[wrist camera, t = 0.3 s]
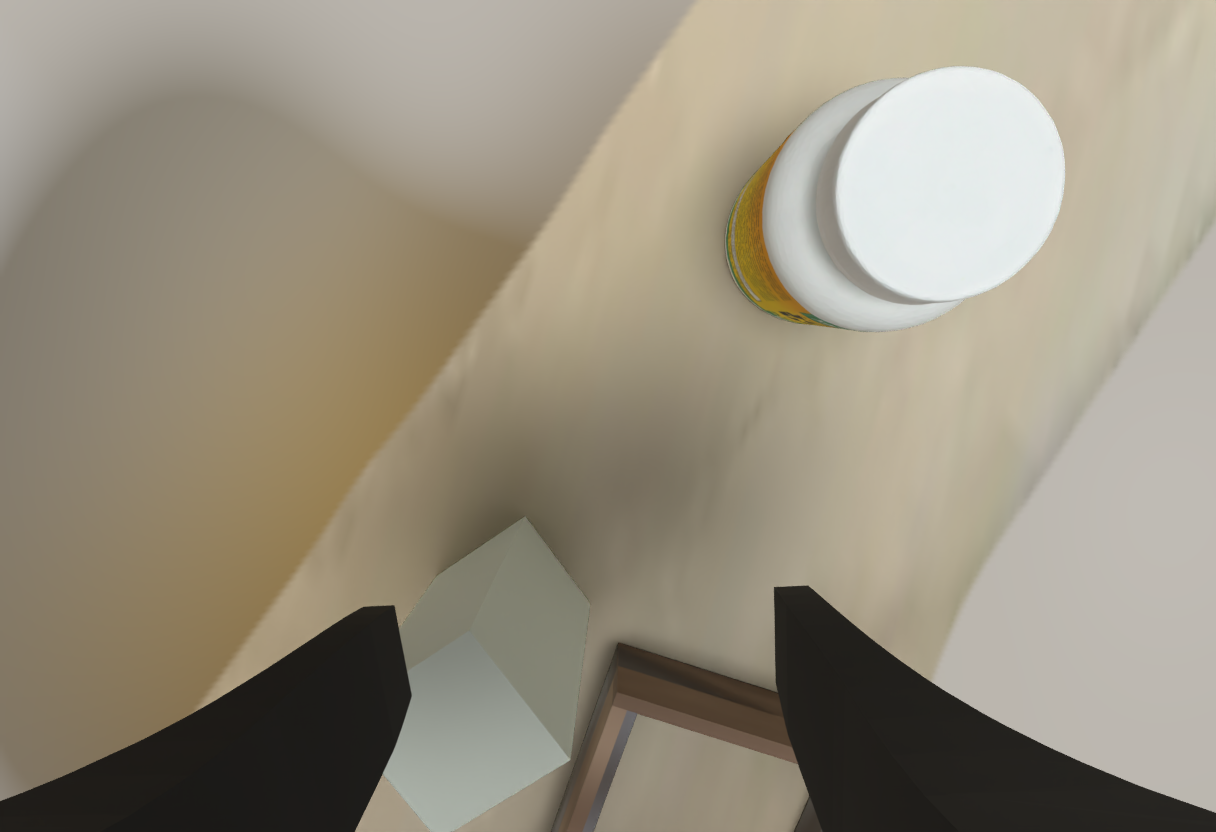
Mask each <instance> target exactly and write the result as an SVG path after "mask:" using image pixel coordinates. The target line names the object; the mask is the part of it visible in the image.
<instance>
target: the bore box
mask: <svg viewBox="0 0 1216 832" xmlns="http://www.w3.org/2000/svg"><path fill="white" fill-rule="evenodd" d="M637 714H640V715H644V716H647V717H650V718H653V719H656V720H660V721H663V722H666V723H669V724H672V725H675V726H679V727H682V728H685V729H688V730H691V731H695V732H698V733H701V734H704V735H707V736H710V737H714V738H717V739H720V740H723V741H726V742H730V743H733V744H736V745H739V746H742V747H745V748H749V749H752V750H755V751H758V752H761V753H765V754H768V755H771V756H774V757H777V758H780V759H784V760H787V761H790V762H793V763H796V764H798V762H797V759H796V757H795V754H794V751H793V748H792V745H791V742H790V739H789V737H788V733H787V729H786V725H785V721H784V717H783V712H782V708H781V703H780V699H779V695H778V693H776V692H773V691H770V690H766V689H763V688H760V687H757V686H754V685H751V684H748V683H744V682H741V681H738V680H735V679H732V678H729V677H725V676H722V675H719V674H716V673H713V672H710V671H707V670H703V669H700V668H697V667H694V666H691V665H688V664H684V663H681V662H678V661H675V660H672V659H669V658H665V657H662V656H659V655H656V654H653V653H650V652H647V651H643V650H640V649H637V648H634V647H631V646H628V645H624V644H621V643H618V645H617V648H616V651H615V654H614V657H613V659H612V662H611V665H610V668H609V671H608V673H607V676H606V679H605V682H604V685H603V687H602V690H601V693H600V696H599V699H598V701H597V704H596V707H595V710H594V712H593V715H592V718H591V721H590V724H589V726H588V729H587V732H586V735H585V738H584V740H583V743H582V746H581V749H580V752H579V754H578V757H577V760H576V763H575V766H574V768H573V771H572V774H571V777H570V780H569V782H568V785H567V788H566V791H565V794H564V796H563V799H562V802H561V805H560V808H559V810H558V813H557V816H556V819H555V822H554V824H553V827H552V830H551V832H593V831H594V829H595V826H596V823H597V821H598V818H599V815H600V813H601V810H602V807H603V805H604V802H605V799H606V797H607V794H608V791H609V788H610V786H611V783H612V780H613V778H614V775H615V772H616V770H617V767H618V764H619V762H620V759H621V756H622V754H623V751H624V748H625V745H626V743H627V740H628V737H629V735H630V732H631V729H632V727H633V724H634V721H635V719H636V716H637ZM795 832H822V829H821V826H820V823H819V821H818V818H817V815H816V812H815V809H814V807H813V804H812V801H811V798H809V800H808V802H807V805H806V807H805V809H804V811H803V814H802V816H801V818H800V821H799V823H798V825H797V827H796V830H795Z"/></svg>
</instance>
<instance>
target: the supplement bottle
mask: <svg viewBox="0 0 1216 832" xmlns="http://www.w3.org/2000/svg"><path fill="white" fill-rule="evenodd" d="M1064 184H1065V160H1064V152H1063V146H1062V143H1061V140H1060V137H1059V134H1058V131H1057V129H1056V126H1055V123H1054V121H1053V120H1052V118H1051V117H1050V115H1049V114H1048V112H1047V110H1046V109H1045V108H1044V106H1043V105H1042V104H1041V102H1040V101H1039V100H1038V99H1037V98H1036V96H1034V95H1033V94H1032V93H1031V92H1030V91H1029V90H1028V89H1027V88H1025V87H1024V86H1023V85H1022V84H1020V83H1018V82H1017V81H1015V80H1013V79H1011V78H1009V77H1007V76H1005V75H1003V74H1001V73H998V72H995V71H992V70H988V69H983V68H978V67H969V66H951V67H943V68H938V69H934V70H930V71H926V72H923V73H920V74H917V75H915V76H913V77H910V78H891V79H882V80H877V81H872V82H869V83H865V84H862V85H859V86H856V87H854V88H852V89H849V90H847V91H845V92H843V93H841V94H839V95H837V96H835V97H834V98H832V99H831V100H829V101H827V102H826V103H824V104H823V105H822V106H820V107H819V108H818V109H817V110H815V111H814V112H813V113H812V114H810V115H809V116H808V117H807V118H806V119H805V120H804V121H803V122H802V123H801V124H800V125H799V126H798V127H797V128H796V129H795V130H794V131H793V132H792V133H791V134H790V135H789V136H788V137H787V138H786V140H785V141H784V142H783V144H782V145H781V146H780V147H779V148H778V149H777V150H776V151H775V152H774V153H773V155H772V156H771V157H770V158H769V159H768V160H767V161H766V162H765V163H764V164H763V165H762V166H761V167H760V168H759V169H758V170H757V172H756V173H755V174H754V175H753V176H752V177H751V178H750V180H749V181H748V182H747V184H746V185H745V186H744V187H743V189H742V190H741V192H740V193H739V195H738V197H737V199H736V201H735V202H734V205H733V207H732V210H731V212H730V215H729V218H728V222H727V226H726V233H725V250H726V258H727V262H728V266H729V269H730V273H731V275H732V277H733V279H734V281H735V283H736V285H737V286H738V288H739V289H740V290H741V292H742V293H743V294H744V295H745V296H746V297H747V298H748V299H749V300H750V301H751V302H752V303H753V304H754V305H756V306H757V307H758V308H760V309H761V310H763V311H764V312H766V313H768V314H770V315H772V316H774V317H776V318H779V319H781V320H785V321H789V322H793V323H800V324H809V325H818V326H826V327H833V328H840V329H847V330H854V331H863V332H886V331H896V330H902V329H907V328H911V327H914V326H918V325H921V324H924V323H926V322H929V321H931V320H933V319H936V318H937V317H939V316H941V315H943V314H945V313H947V312H948V311H950V310H951V309H953V308H954V307H956V306H957V305H959V304H960V303H961V302H962V301H964V300H965V299H967V298H970V297H973V296H976V295H979V294H981V293H984V292H986V291H989V290H991V289H993V288H996V287H997V286H999V285H1000V284H1002V283H1003V282H1005V281H1006V280H1008V279H1009V278H1011V277H1012V276H1013V275H1015V274H1016V273H1017V272H1018V271H1019V270H1020V269H1022V268H1023V267H1024V266H1025V265H1026V264H1027V263H1028V262H1029V261H1030V260H1031V259H1032V257H1033V256H1034V255H1035V254H1036V253H1037V252H1038V250H1039V249H1040V248H1041V247H1042V245H1043V244H1044V242H1045V240H1046V239H1047V237H1048V235H1049V234H1050V232H1051V230H1052V228H1053V226H1054V223H1055V221H1056V219H1057V216H1058V213H1059V211H1060V206H1061V202H1062V198H1063V193H1064Z"/></svg>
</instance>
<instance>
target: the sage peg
mask: <svg viewBox="0 0 1216 832" xmlns="http://www.w3.org/2000/svg"><path fill="white" fill-rule="evenodd" d="M589 611H590V602H589V601H588V600H587V598H586V597H585V596H584V594H583V593H582V592H581V590H580V589H579V588H578V586H577V585H576V584H575V582H574V581H573V580H572V578H571V577H570V576H569V574H568V573H567V571H566V570H565V569H564V567H563V566H562V565H561V563H560V562H559V561H558V559H557V558H556V557H555V555H554V554H553V553H552V551H551V550H550V549H549V547H548V546H547V545H546V543H545V542H544V541H543V539H542V538H541V537H540V535H539V534H538V533H537V531H536V530H535V529H534V527H533V526H532V524H531V523H530V522H529V520H528V519H527V518H526V516H525V517H523V518H522V519H520V520H519V521H517V522H516V523H514V524H513V525H511V526H510V527H508V528H507V529H505V530H504V531H502V532H501V533H499V534H498V535H496V536H495V537H493V538H492V539H490V540H489V541H487V542H486V543H485V544H483V545H482V546H480V547H479V548H477V549H476V550H474V551H473V552H471V553H470V554H468V555H467V556H465V557H464V558H462V559H461V560H459V561H458V562H456V563H455V564H453V565H452V566H450V567H449V568H447V569H446V570H444V571H443V572H441V573H440V574H438V575H437V576H436V577H435V579H434V580H433V581H432V583H431V584H430V586H429V587H428V588H427V590H426V591H425V593H424V594H423V595H422V597H421V598H420V600H419V601H418V603H417V604H416V605H415V607H414V608H413V610H412V611H411V612H410V614H409V615H408V617H407V618H406V619H405V621H404V622H403V624H402V625H401V627H400V628H399V632H400V637H401V642H402V647H403V652H404V657H405V663H406V668H407V673H408V678H409V683H410V688H411V693H412V697H411V701H410V704H409V707H408V710H407V713H406V717H405V720H404V723H403V726H402V729H401V732H400V735H399V737H398V740H397V743H396V746H395V748H394V751H393V753H392V755H391V757H390V759H389V761H388V764H387V766H386V768H385V770H384V772H383V775H384V776H385V777H386V779H387V780H388V781H389V782H390V783H391V785H392V786H393V787H394V788H395V789H396V791H397V792H398V793H399V794H400V795H401V797H402V798H403V799H404V800H405V801H406V803H407V804H408V805H409V806H410V807H411V809H412V810H413V811H414V812H415V813H416V815H417V816H418V817H419V818H420V819H421V821H422V822H423V823H424V824H425V825H426V827H427V828H428V829H429V830H430V831H431V832H453V831H454V830H456V829H458V828H459V827H461V826H463V825H464V824H466V823H468V822H469V821H471V820H473V819H474V818H476V817H477V816H479V815H481V814H482V813H484V812H486V811H487V810H489V809H491V808H492V807H494V806H496V805H497V804H499V803H501V802H502V801H504V800H506V799H507V798H509V797H510V796H512V795H514V794H515V793H517V792H519V791H520V790H522V789H524V788H525V787H527V786H529V785H530V784H532V783H534V782H535V781H537V780H539V779H540V778H542V777H543V776H545V775H547V774H548V773H550V772H552V771H553V770H555V769H557V768H558V767H560V766H562V765H563V764H565V763H567V762H568V761H570V760H571V752H572V744H573V736H574V729H575V721H576V713H577V705H578V697H579V689H580V682H581V674H582V666H583V658H584V650H585V643H586V635H587V627H588V619H589Z"/></svg>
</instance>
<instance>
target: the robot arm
mask: <svg viewBox="0 0 1216 832" xmlns="http://www.w3.org/2000/svg"><path fill="white" fill-rule="evenodd" d="M774 608H775V666H776V686H777V690H778V695H779V699H780V703H781V708H782V712H783V717H784V721H785V725H786V729H787V733H788V737H789V739H790V742H791V745H792V748H793V751H794V754H795V757H796V759H797V762H798V765H799V768H800V771H801V773H802V776H803V779H804V782H805V785H806V787H807V790H808V793H809V796H810V798H811V801H812V804H813V807H814V809H815V812H816V815H817V818H818V821H819V823H820V826H821V829H822V832H1216V813H1214V812H1212V811H1209V810H1206V809H1203V808H1200V807H1197V806H1194V805H1192V804H1189V803H1186V802H1183V801H1180V800H1177V799H1174V798H1172V797H1169V796H1166V795H1163V794H1160V793H1157V792H1154V791H1152V790H1149V789H1146V788H1143V787H1141V786H1138V785H1135V784H1133V783H1131V782H1128V781H1126V780H1123V779H1121V778H1118V777H1116V776H1114V775H1111V774H1109V773H1106V772H1104V771H1101V770H1099V769H1097V768H1094V767H1092V766H1090V765H1087V764H1085V763H1082V762H1080V761H1078V760H1075V759H1073V758H1071V757H1069V756H1067V755H1065V754H1062V753H1060V752H1058V751H1056V750H1053V749H1051V748H1049V747H1047V746H1045V745H1043V744H1041V743H1039V742H1037V741H1035V740H1033V739H1031V738H1029V737H1027V736H1025V735H1023V734H1021V733H1019V732H1017V731H1015V730H1013V729H1011V728H1009V727H1007V726H1005V725H1003V724H1001V723H999V722H998V721H996V720H994V719H992V718H990V717H988V716H987V715H985V714H983V713H981V712H979V711H978V710H976V709H974V708H972V707H971V706H969V705H968V704H966V703H964V702H963V701H961V700H959V699H958V698H956V697H954V696H952V695H951V694H949V693H947V692H946V691H944V690H942V689H941V688H939V687H938V686H936V685H935V684H933V683H932V682H930V681H929V680H927V679H926V678H924V677H923V676H921V675H920V674H918V673H917V672H916V671H914V670H913V669H911V668H910V667H908V666H907V665H906V664H904V663H903V662H901V661H900V660H898V659H897V658H896V657H894V656H893V655H892V654H890V653H889V652H888V651H886V650H885V649H884V648H882V647H881V646H880V645H878V644H877V643H876V642H875V641H873V640H872V639H871V638H870V637H868V636H867V635H866V634H865V633H863V632H862V631H861V630H860V629H858V628H857V627H856V626H855V625H854V624H852V623H851V622H850V621H849V620H848V619H846V618H845V617H844V616H843V615H842V614H840V613H839V612H838V611H837V610H836V609H835V608H833V607H832V606H831V605H830V604H829V603H828V602H827V601H825V600H824V599H823V598H822V597H821V596H820V595H818V594H817V593H816V592H815V591H814V590H813V589H811V588H810V587H809V586H790V587H774ZM411 697H412V693H411V688H410V683H409V678H408V673H407V668H406V663H405V657H404V652H403V647H402V642H401V637H400V632H399V627H398V622H397V617H396V612H395V606H394V605H392V606H371V607H363V608H361V609H359V610H357V611H355V612H353V613H352V614H350V615H348V616H347V617H345V618H343V619H342V620H340V621H339V622H337V623H335V624H334V625H332V626H331V627H329V628H328V629H326V630H325V631H323V632H322V633H320V634H319V635H317V636H316V637H314V638H313V639H311V640H310V641H308V642H307V643H305V644H304V645H302V646H301V647H299V648H298V649H296V650H295V651H293V652H292V653H290V654H288V655H287V656H285V657H284V658H282V659H281V660H279V661H278V662H276V663H275V664H273V665H272V666H270V667H269V668H267V669H266V670H264V671H262V672H261V673H259V674H257V675H256V676H254V677H253V678H251V679H249V680H248V681H246V682H245V683H243V684H241V685H240V686H238V687H236V688H235V689H233V690H232V691H230V692H228V693H227V694H225V695H223V696H222V697H220V698H219V699H217V700H215V701H214V702H212V703H210V704H208V705H207V706H205V707H203V708H201V709H200V710H198V711H196V712H194V713H192V714H191V715H189V716H187V717H185V718H183V719H182V720H180V721H178V722H176V723H174V724H172V725H170V726H168V727H166V728H164V729H162V730H161V731H159V732H157V733H155V734H153V735H151V736H149V737H147V738H145V739H143V740H141V741H139V742H137V743H135V744H133V745H130V746H128V747H126V748H124V749H122V750H120V751H117V752H115V753H113V754H111V755H109V756H107V757H104V758H102V759H100V760H98V761H96V762H94V763H91V764H89V765H87V766H85V767H83V768H80V769H78V770H76V771H74V772H72V773H69V774H67V775H65V776H63V777H60V778H58V779H55V780H53V781H50V782H48V783H45V784H43V785H40V786H38V787H35V788H33V789H31V790H28V791H26V792H23V793H21V794H18V795H16V796H13V797H10V798H7V799H5V800H2V801H0V832H355V830H356V828H357V826H358V824H359V821H360V819H361V817H362V815H363V813H364V811H365V809H366V807H367V805H368V803H369V801H370V799H371V797H372V795H373V793H374V791H375V789H376V787H377V785H378V782H379V780H380V778H381V776H382V774H383V772H384V770H385V768H386V766H387V764H388V761H389V759H390V757H391V755H392V753H393V751H394V748H395V746H396V743H397V740H398V737H399V735H400V732H401V729H402V726H403V723H404V720H405V717H406V713H407V710H408V707H409V704H410V701H411Z"/></svg>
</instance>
